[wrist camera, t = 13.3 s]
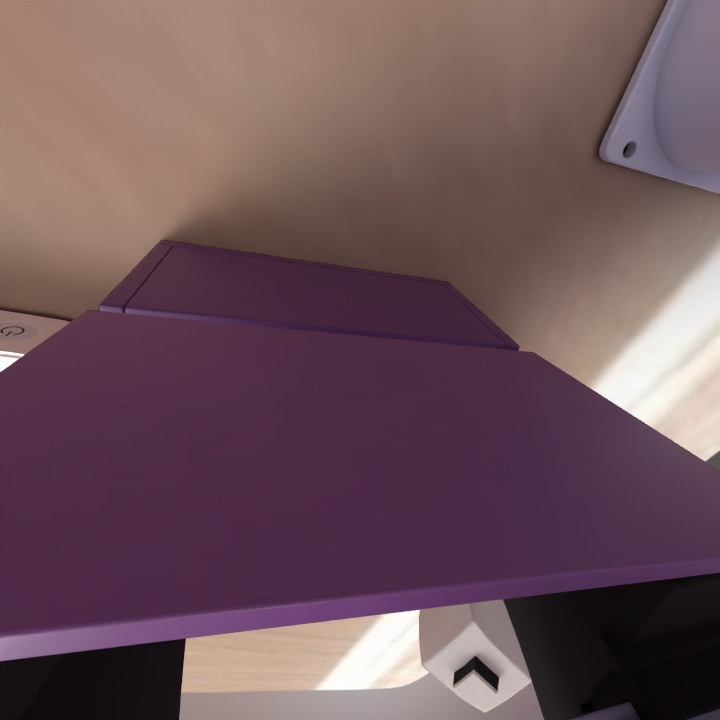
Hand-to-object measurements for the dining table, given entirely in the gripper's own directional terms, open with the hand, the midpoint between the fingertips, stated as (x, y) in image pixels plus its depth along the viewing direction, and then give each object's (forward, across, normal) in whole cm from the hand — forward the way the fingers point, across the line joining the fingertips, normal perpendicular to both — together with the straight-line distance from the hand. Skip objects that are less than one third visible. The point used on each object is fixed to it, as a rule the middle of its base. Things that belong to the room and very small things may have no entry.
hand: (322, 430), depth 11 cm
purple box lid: (-4, -1, -4) cm, 5 cm away
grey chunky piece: (+6, -9, +20) cm, 22 cm away
